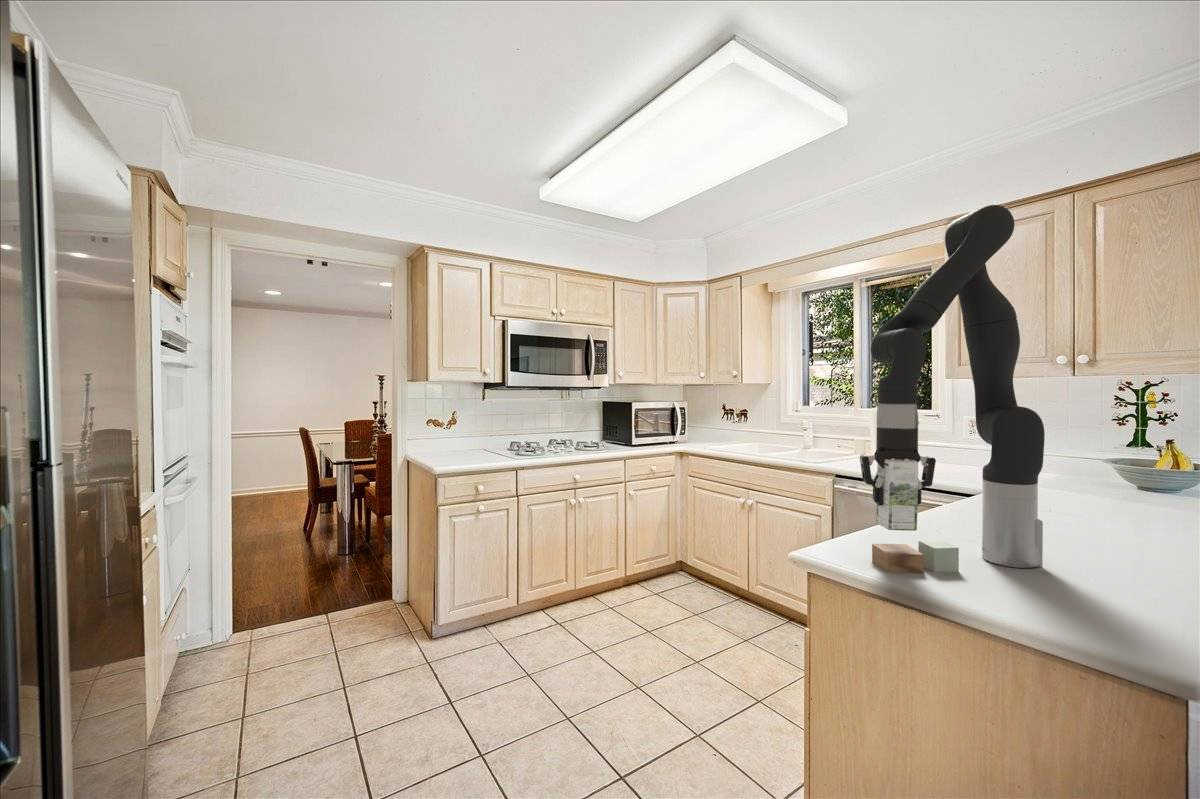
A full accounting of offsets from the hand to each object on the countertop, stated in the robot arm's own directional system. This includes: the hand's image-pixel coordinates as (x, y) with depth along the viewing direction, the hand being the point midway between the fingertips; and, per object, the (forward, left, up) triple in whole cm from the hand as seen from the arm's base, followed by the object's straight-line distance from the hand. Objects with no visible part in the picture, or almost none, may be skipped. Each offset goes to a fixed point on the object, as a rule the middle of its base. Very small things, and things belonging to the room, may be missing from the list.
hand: (896, 505), depth 107 cm
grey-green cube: (-8, -1, -13) cm, 15 cm away
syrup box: (0, 0, -5) cm, 5 cm away
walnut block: (0, 0, -13) cm, 13 cm away
